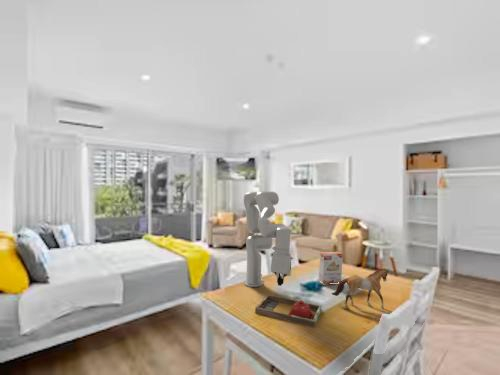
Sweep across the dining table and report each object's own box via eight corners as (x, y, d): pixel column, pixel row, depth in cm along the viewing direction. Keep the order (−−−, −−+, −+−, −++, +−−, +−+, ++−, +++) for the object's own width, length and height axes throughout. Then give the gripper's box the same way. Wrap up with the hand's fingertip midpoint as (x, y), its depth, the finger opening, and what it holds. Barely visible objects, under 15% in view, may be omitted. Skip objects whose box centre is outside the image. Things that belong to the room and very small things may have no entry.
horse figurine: (385, 303, 153) (386, 267, 152) (392, 310, 145) (394, 272, 145) (330, 302, 152) (332, 266, 152) (335, 309, 145) (336, 271, 144)
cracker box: (323, 286, 176) (324, 254, 176) (318, 282, 182) (319, 251, 182) (341, 284, 180) (342, 253, 180) (336, 281, 186) (337, 251, 185)
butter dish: (309, 325, 128) (310, 307, 128) (286, 319, 133) (286, 302, 132) (314, 314, 138) (315, 298, 138) (292, 309, 143) (293, 293, 143)
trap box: (267, 298, 155) (267, 294, 155) (321, 310, 142) (321, 305, 142) (255, 312, 138) (255, 307, 138) (314, 327, 126) (314, 321, 126)
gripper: (266, 250, 141) (264, 284, 143) (294, 255, 135) (291, 290, 137) (271, 246, 148) (269, 279, 150) (297, 251, 142) (295, 285, 143)
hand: (280, 284), depth 143 cm, fingers closed
